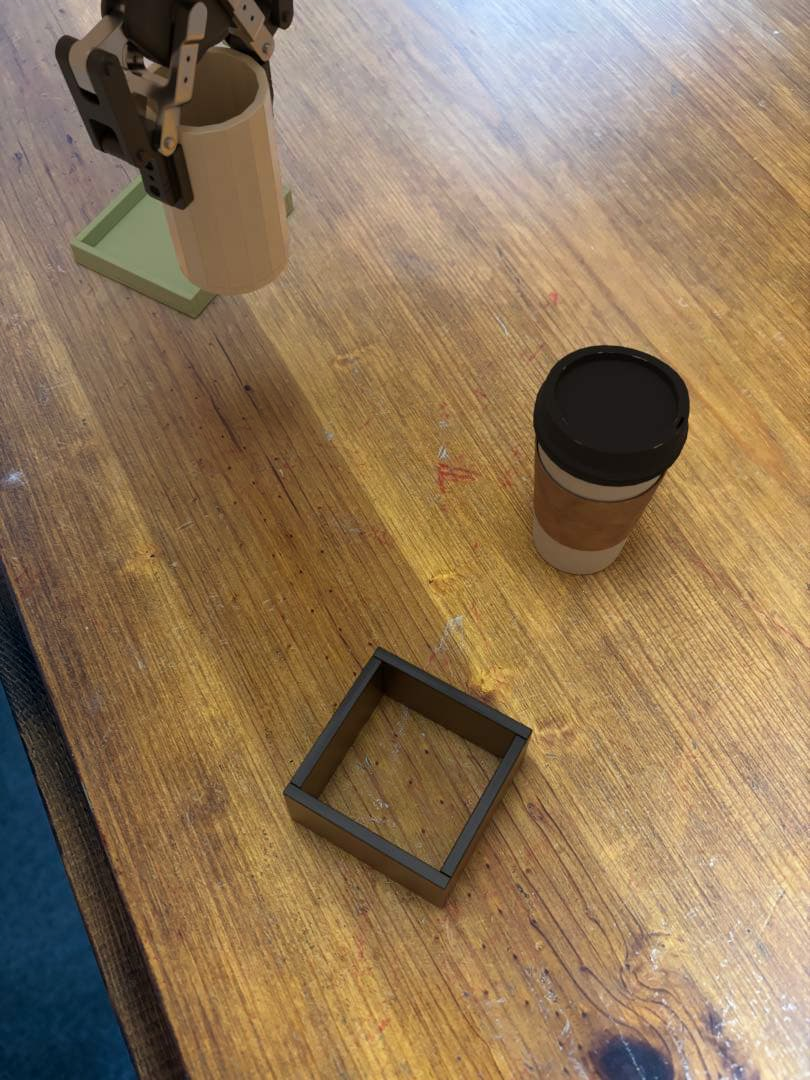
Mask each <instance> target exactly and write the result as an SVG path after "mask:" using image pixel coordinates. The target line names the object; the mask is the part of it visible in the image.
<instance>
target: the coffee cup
mask: <svg viewBox="0 0 810 1080" xmlns="http://www.w3.org/2000/svg"><path fill="white" fill-rule="evenodd" d="M533 408H534V409H533V412H532V426H533V430H534V434H535V436H534V459H533V460H534V462H533V463H534V465H533V467H534V468H533V470H534V471H533V511H532V527H531V528H532V534H531V535H532V540H533V544H534V546H535V549H536V551H537V552H538V555H540V556H541V558H542V559H543V560H544V561H545V562H546V563H547V564H548V565H550V566H552V567H553V568H555V569H556V570H559V571H561V572H564V573H567V574H572V575H582V576H583V575H592V574H595V573H597V572H601V571H602V570H605V569H606V568H608V567H610V565H612V564H613V563H614V562H615V561H616V560H617V558H618V557H619V556H620V554H621V552H622V550H623V548H624V546H625V544H626V543H627V541H628V539H629V537H630V535H631V533H632V532H633V531H634V529H635V527H636V525H637V524H638V522H639V521H640V519H641V517H642V515H643V514H644V512H645V511H646V509H647V507H648V505H649V503H650V502H651V500H652V498H653V497H654V495H655V493H656V491H657V490H658V488H659V487H660V485H661V483H662V481H663V480H664V478H665V476H666V474H667V472H668V470H669V469H670V468H671V467H673V465H674V464H675V463H676V461H677V460H678V459H679V457H680V455H681V452H682V451H683V449H684V446H685V444H686V442H687V439H688V434H689V427H690V425H689V418H690V413H691V398H690V393H689V388H688V386H687V384H686V382H685V380H684V379H683V378H682V376H681V375H680V374H679V373H678V372H677V371H676V370H675V369H674V368H673V367H672V366H671V365H669V364H668V363H666V362H665V361H663V360H662V359H660V358H658V357H656V356H654V355H651V354H650V353H648V352H646V351H642V350H639V349H636V348H633V347H627V346H622V345H613V344H599V345H597V344H596V345H589V346H585V347H582V348H578V349H576V350H573V351H571V352H569V353H567V354H565V356H563V357H561V358H560V359H558V361H556V363H555V364H554V365H553V366H552V367H551V368H550V370H549V371H548V374H547V376H546V378H545V380H544V381H543V382H542V383H541V386H540V387H539V389H538V391H537V393H536V397H535V400H534V407H533Z"/></svg>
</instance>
